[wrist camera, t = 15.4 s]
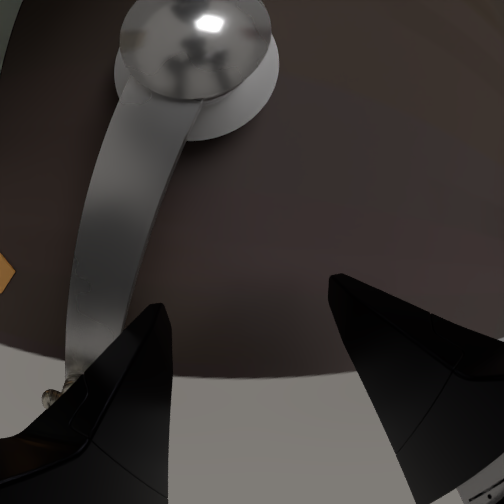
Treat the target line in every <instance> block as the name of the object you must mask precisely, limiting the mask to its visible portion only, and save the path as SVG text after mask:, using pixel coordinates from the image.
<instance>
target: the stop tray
mask: <svg viewBox="0 0 504 504" xmlns="http://www.w3.org/2000/svg"><path fill="white" fill-rule="evenodd" d="M22 1H23V0H0V74H1V69H2V65H3V60H4V56H5V52H6V49H7V45H8V41H9V38H10V35H11V31H12V28H13V25H14V22H15V19H16V17H17V14H18V11H19V9H20V6H21V3H22Z"/></svg>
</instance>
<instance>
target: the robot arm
mask: <svg viewBox="0 0 504 504" xmlns="http://www.w3.org/2000/svg"><path fill="white" fill-rule="evenodd" d="M328 302H329V306H330V308H331V311H332V314H333V316H334V319H335V322H336V325H337V327H338V330H339V333H340V336H341V338H342V341H343V344H344V346H345V348H346V350H347V352H348V354H349V356H350V358H351V360H352V362H353V364H354V366H355V368H356V370H357V372H358V374H359V376H360V378H361V380H362V382H363V385H364V387H365V389H366V390H367V393H368V395H369V397H370V399H371V401H372V403H373V406H374V408H375V410H376V412H377V414H378V416H379V418H380V421H381V423H382V425H383V427H384V429H385V432H386V434H387V436H388V438H389V441H390V443H391V445H392V447H393V449H394V452H395V454H396V457H397V459H398V461H399V464H400V466H401V468H402V471H403V473H404V475H405V478H406V480H407V482H408V485H409V487H410V490H411V492H412V495H413V497H414V500H415V502H416V504H430V503H432V502H434V501H435V500H437V499H439V498H441V497H442V496H444V495H446V494H447V493H449V492H450V491H452V490H454V489H455V488H457V490H458V492H459V494H460V497H461V499H462V501H463V503H464V504H504V342H502V341H499V340H497V339H494V338H491V337H489V336H486V335H483V334H481V333H478V332H475V331H472V330H470V329H467V328H465V327H462V326H459V325H457V324H454V323H452V322H450V321H448V320H445V319H443V318H441V317H439V316H436V315H434V314H430V312H428V311H425V310H423V309H421V308H419V307H417V306H414V305H412V304H410V303H408V302H406V301H403V300H401V299H399V298H397V297H395V296H392V295H390V294H388V293H386V292H383V291H381V290H379V289H377V288H375V287H372V286H370V285H368V284H366V283H363V282H361V281H359V280H357V279H354V278H352V277H350V276H347V275H345V274H343V273H340V274H335V275H331V276H330V278H329V288H328ZM172 379H173V361H172V329H171V324H170V321H169V318H168V315H167V312H166V309H165V306H164V305H163V304H162V303H156V304H150V305H149V306H147V307H146V308H145V309H144V311H143V312H142V313H141V314H140V315H139V316H138V317H137V318H136V319H135V320H134V321H133V322H132V323H131V324H130V325H129V326H128V327H127V328H126V329H125V330H124V331H123V332H122V333H121V334H120V335H119V336H118V337H117V338H116V339H115V340H114V341H113V342H112V343H111V344H110V345H109V346H108V347H107V348H106V349H105V350H104V351H103V352H102V354H101V355H100V356H99V357H98V358H97V359H96V360H95V361H94V362H93V363H92V364H91V365H90V366H89V367H88V368H87V369H86V370H85V371H84V374H82V375H81V376H80V377H79V378H78V379H77V380H76V381H75V382H74V383H73V384H72V385H71V386H70V387H69V388H68V389H67V390H66V391H65V392H64V393H63V394H62V395H61V396H60V397H59V398H58V399H57V400H56V401H55V402H54V403H53V404H52V405H51V406H50V407H49V408H47V409H46V410H45V411H44V412H43V413H42V414H41V415H40V416H39V417H38V418H37V419H36V420H34V421H33V422H32V423H31V424H30V425H29V426H28V427H27V428H26V429H24V430H23V431H22V432H20V433H19V434H17V435H14V436H12V437H8V438H1V439H0V504H168V499H167V498H168V449H169V447H168V446H169V424H170V406H171V391H172Z"/></svg>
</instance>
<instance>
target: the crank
mask: <svg viewBox="0 0 504 504" xmlns="http://www.w3.org/2000/svg"><path fill="white" fill-rule="evenodd" d="M270 41H271V22H270V17H269V14H268V12H267V9H266V8H265V6H264V4H263V2H262V1H261V0H137V1H136V2H135V3H134V5H133V6H132V7H131V9H130V10H129V12H128V13H127V15H126V17H125V19H124V22H123V24H122V27H121V32H120V41H119V44H120V52H121V56H122V59H123V61H124V64H125V66H126V67H127V69H128V70H129V72H130V73H131V75H130V77H129V79H128V81H127V84H126V86H125V88H124V90H123V92H122V95H121V97H120V99H119V102H118V104H117V106H116V109H115V111H114V114H113V116H112V119H111V121H110V124H109V127H108V129H107V132H106V135H105V138H104V140H103V143H102V146H101V149H100V152H99V155H98V158H97V161H96V165H95V168H94V171H93V175H92V178H91V182H90V185H89V189H88V193H87V197H86V200H85V204H84V209H83V213H82V217H81V222H80V227H79V231H78V236H77V242H76V247H75V253H74V259H73V266H72V273H71V280H70V288H69V298H68V309H67V322H66V345H65V374H66V375H65V377H66V380H65V383H64V386H63V389H62V392H58V391H56V390H53V389H49V390H46V391H45V392H44V393H43V395H42V403H43V405H44V407H45V408H46V409H47V408H49V407H50V406H51V405H52V404H53V403H54V402H55V401H56V400H57V399H58V398H59V397H60V396H61V395H62V394H63V393H64V392H65V391H66V390H67V389H68V388H69V387H70V386H71V385H72V384H73V383H74V382H75V381H76V380H77V379H78V378H79V377H80V376H81V375H82V374H84V371H85V370H86V369H87V368H88V367H89V366H90V365H91V364H92V363H93V362H94V361H95V360H96V359H97V358H98V357H99V356H100V355H101V354H102V352H103V351H104V350H105V349H106V348H107V347H108V346H109V345H110V344H111V343H112V342H113V341H114V340H115V339H116V338H117V337H118V336H119V335H120V334H121V333H122V332H123V329H124V325H125V321H126V317H127V313H128V309H129V305H130V301H131V298H132V294H133V290H134V287H135V283H136V280H137V276H138V273H139V269H140V266H141V263H142V260H143V256H144V253H145V250H146V247H147V244H148V241H149V238H150V235H151V232H152V229H153V226H154V223H155V220H156V217H157V214H158V212H159V209H160V206H161V203H162V201H163V198H164V195H165V193H166V190H167V187H168V185H169V182H170V180H171V177H172V174H173V172H174V170H175V167H176V165H177V162H178V160H179V157H180V155H181V153H182V150H183V148H184V146H185V143H186V141H187V139H188V136H189V134H190V132H191V130H192V128H193V125H194V123H195V121H196V119H197V117H198V115H199V112H200V110H201V108H202V107H205V106H209V105H212V104H215V103H217V102H219V101H221V100H223V99H225V98H226V97H227V96H229V95H230V94H231V93H232V92H233V91H235V90H236V89H237V88H238V87H239V86H240V85H241V84H242V83H243V82H244V81H245V80H246V79H247V78H248V77H249V76H250V75H251V74H252V73H253V72H254V71H255V70H256V68H257V67H258V66H259V65H260V63H261V62H262V60H263V59H264V57H265V55H266V53H267V51H268V48H269V45H270Z"/></svg>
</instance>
